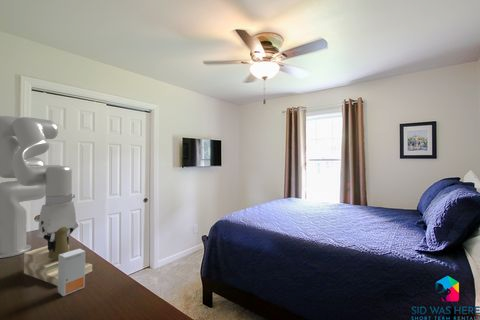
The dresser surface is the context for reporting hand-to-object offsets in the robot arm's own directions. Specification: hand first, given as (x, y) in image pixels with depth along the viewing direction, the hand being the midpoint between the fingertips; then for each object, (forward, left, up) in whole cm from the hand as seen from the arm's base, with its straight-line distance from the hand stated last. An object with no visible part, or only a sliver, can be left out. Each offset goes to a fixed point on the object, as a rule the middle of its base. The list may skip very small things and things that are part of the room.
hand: (58, 248), depth 83 cm
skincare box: (+17, -5, -9) cm, 19 cm away
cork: (0, 0, -3) cm, 3 cm away
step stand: (0, 0, -9) cm, 9 cm away
